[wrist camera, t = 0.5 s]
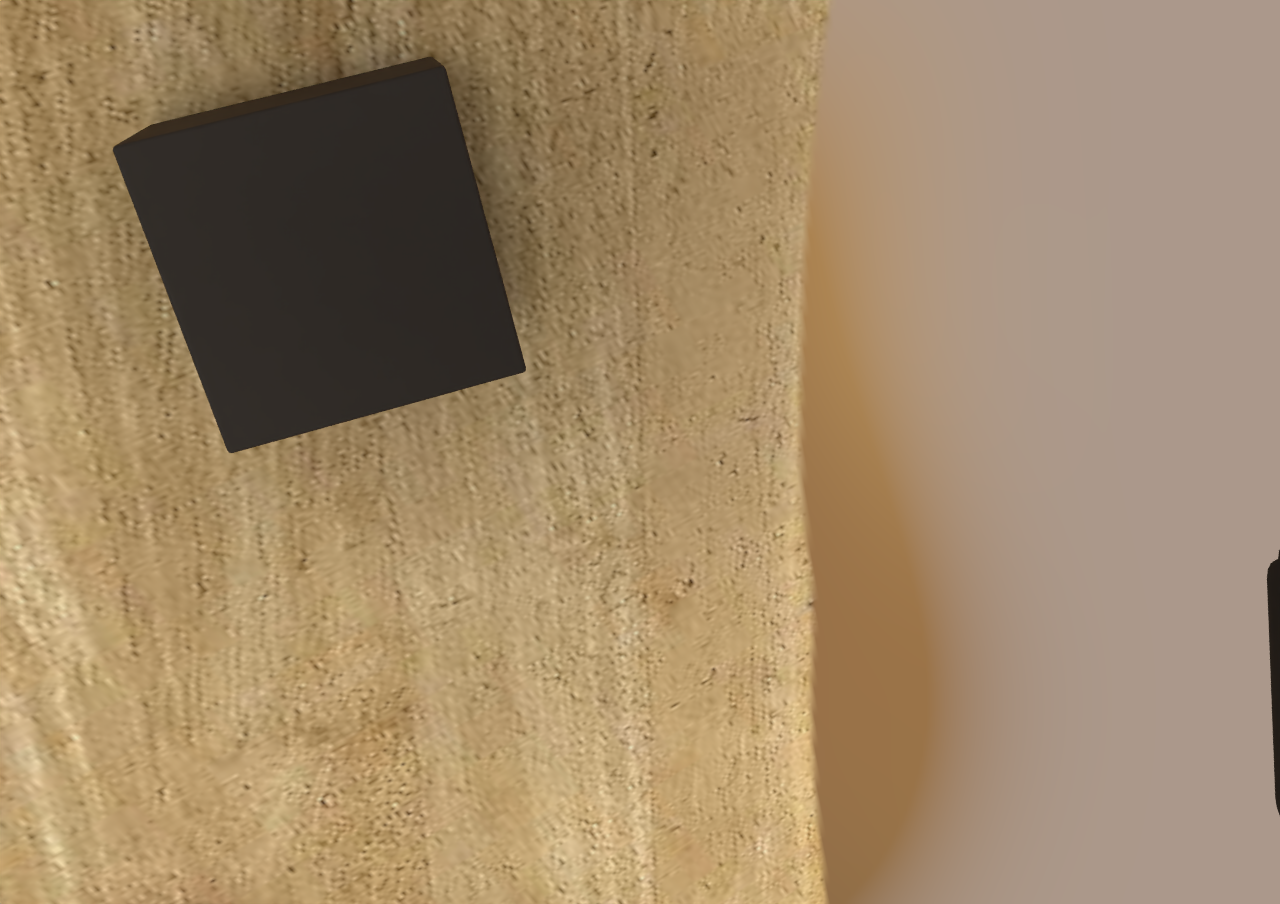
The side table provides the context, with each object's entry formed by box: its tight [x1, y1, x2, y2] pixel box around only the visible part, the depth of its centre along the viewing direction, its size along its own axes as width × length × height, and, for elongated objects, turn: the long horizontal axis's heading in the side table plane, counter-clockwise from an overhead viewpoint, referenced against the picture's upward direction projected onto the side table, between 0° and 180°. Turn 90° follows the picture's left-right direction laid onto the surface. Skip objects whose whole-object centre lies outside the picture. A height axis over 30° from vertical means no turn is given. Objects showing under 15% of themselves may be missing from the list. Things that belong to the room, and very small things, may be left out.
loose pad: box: [113, 57, 526, 453], centre depth 24 cm, size 6×6×4 cm
